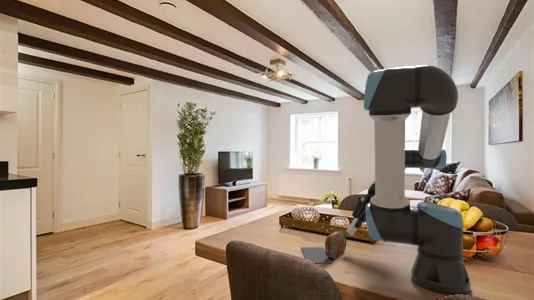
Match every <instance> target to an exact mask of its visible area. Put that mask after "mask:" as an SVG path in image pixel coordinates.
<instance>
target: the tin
mask: <svg viewBox="0 0 534 300" xmlns="http://www.w3.org/2000/svg"><path fill="white" fill-rule="evenodd" d="M346 246H347V236H346V231H344V230H343V231H341V230H336V231H334V232H332V233H330V234H328V235H327V236H326V238H325V242H324V250H325V254H326V256H327V257H329V258H330V259H334V260H335V259H337V258H338V257H339V256H341V255H342V254H344V253H345V251H346Z"/></svg>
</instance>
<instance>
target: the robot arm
mask: <svg viewBox="0 0 534 300" xmlns="http://www.w3.org/2000/svg"><path fill="white" fill-rule="evenodd" d="M458 99H459V92H458V87H457V85H456V83H455V81H454V79H453V78H452V77H451V76H450V75H449V73H447V72H446V71H445V70H443V69H442V68H440V67H437V66H434V65H431V64H422V65H421V64H420V65H415V66H414V65H413V66H403V67H394V68H393V67H392V68H384V69H379V70H373V71H371V72H370V73H369V74H367V78H366V82H365V88H364V96H363V110H364V111H368V117H370V119H372V120H373V122H374V180H373V182H372V184H371V185H370V187H369V188H368V189H367V194H365V195H364V197H361V196H359V197H358V198H357V203H356V205H355V206H354V209H353V211H352V213H351V216H352V217H353V219H352V220H351V222H350V224H349V226H348V227H347V229H346V230H345V232H347V234H348V235H349V236H352V237H353V236H354V235H355V233H356V232H357V230H358V229H360V227H361V226H362V224H363V223H366V228H367V232H368V235H369V237H370V238H371V240H372V239H373V240H375V241H379V242H380V241H381V242H383V243H387V242H388V243H397V244H402V245H409V246H410V245H412V246H417V254H416V257H415V260H414V261H413V264H412V267H411V274H410V275H411V279H412V281H413V282H414V283H415V284H417V285H418V286H420V287H422V288H425V289H427V290H429V291H433V292H437V293H440V294H446V295H453V294H459V295H466V294H468V293H469V292H471V280H470V278H469V274H468V271H467V268H466V266H465V263H464V238H463V237H464V228H465V226H464V221H463V219H464V218H463V215H462V213H461V212H460V211H459V210H457V209H456V208H454V207H450V206H446V205H444V204H438V203H434V202H424V201H420V202H417V204H416V206H411V200H409V199H408V198H407V197H406V191H405V190H406V187H405V185H406V184H405V183H406V181H405V180H406V179H405V178H406V169H407V168H409V169H432V170H434V169H443V168H445V167H446V165H447V158H448V157H447V152H446V149H444V148H443V146H444V142H445V138H446V135H447V134H446V133H447V130H448V129H447V128H448V125H449V121H450V116H451V113H453V112H454V111H455V109H456V108H457V104H458ZM412 108H420V110H421V111H422V112H421V118H420V119H421V121H420V130H419V138H418V146H417V148H406V120H407V119H408V117H409V116H410V115H411V114H412Z"/></svg>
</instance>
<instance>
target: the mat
mask: <svg viewBox="0 0 534 300" xmlns="http://www.w3.org/2000/svg"><path fill="white" fill-rule="evenodd" d="M300 248H301V252H302V254H303V257H304V259H308V260H310V261H312V262H314V263H316V264H315V265H333V261H332V260H331V258H329V257H327V256H326V254H325V247H316V246H315V247H310V246H309V247H308V246H307V247H305V246H304V247H300Z"/></svg>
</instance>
